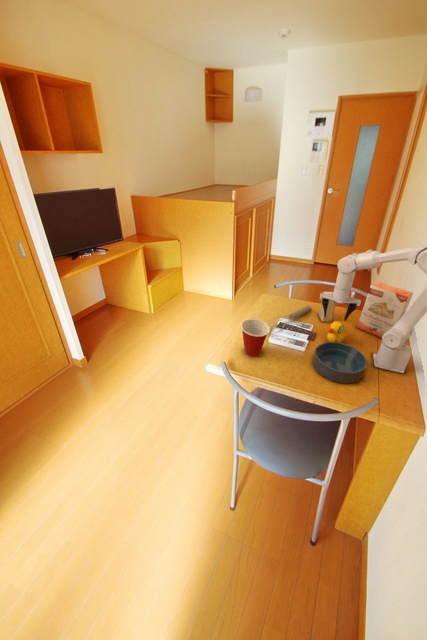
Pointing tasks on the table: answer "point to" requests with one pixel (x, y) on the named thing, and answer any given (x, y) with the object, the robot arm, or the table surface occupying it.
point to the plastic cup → (254, 335)
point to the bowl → (339, 362)
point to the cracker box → (383, 308)
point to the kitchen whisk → (293, 316)
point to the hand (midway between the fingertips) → (334, 317)
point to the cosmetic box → (329, 310)
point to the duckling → (337, 332)
